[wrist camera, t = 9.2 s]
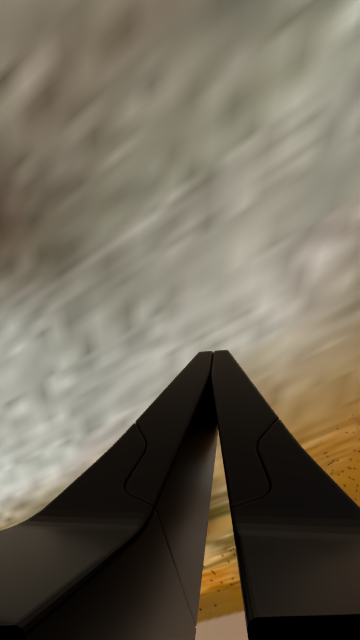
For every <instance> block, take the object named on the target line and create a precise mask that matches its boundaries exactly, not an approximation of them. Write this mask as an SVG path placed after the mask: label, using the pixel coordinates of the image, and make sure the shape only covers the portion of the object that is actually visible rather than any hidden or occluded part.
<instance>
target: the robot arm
mask: <svg viewBox="0 0 360 640" xmlns="http://www.w3.org/2000/svg"><path fill="white" fill-rule="evenodd" d="M135 423H136V424H135ZM135 423H134V424H133V425H132V426H131V427H130V428H129V429H128V430H127V431H126V432H125V433H124V434H123V435H122V436H121V437H120V439H119V440H118V441H117V442H116V443H115V444H114V445H113V446H112V447H111V448H110V449H109V450H108V451H107V452H105V453H104V454H103V455H102V456H101V457H100V458H99V459H98V460H97V461H96V462H95V463H94V464H93V465H92V466H90V467H89V468H88V469H87V470H86V471H85V472H84V473H83V474H82V475H80V476H79V477H78V478H77V479H76V480H75V481H74V482H73V483H72V484H71V485H69V486H68V487H67V488H66V489H65V490H64V491H63V492H62V493H61V494H59V495H58V496H57V497H56V498H55V499H54V500H53V501H52V502H51V503H49V504H48V505H47V506H46V507H45V508H43V509H42V510H41V511H39V512H38V513H37V514H35V515H34V516H32V517H31V518H29V519H27V520H26V521H24V522H22V523H19V524H17V525H15V526H13V527H10V528H7V529H4V530H1V531H0V640H195V634H196V628H195V626H196V624H197V615H198V606H199V597H200V588H201V579H202V570H203V561H204V552H205V543H206V534H207V525H208V516H209V507H210V499H211V490H212V481H213V472H214V463H215V454H216V445H217V435H218V431H219V437H220V444H221V451H222V458H223V464H224V471H225V478H226V485H227V491H228V498H229V505H230V511H231V518H232V525H233V532H234V539H235V546H236V553H237V561H238V568H239V575H240V582H241V590H242V597H243V604H244V612H245V619H246V626H247V633H248V639H249V640H360V507H359V506H358V505H357V504H356V503H355V502H354V501H353V500H352V499H351V498H350V497H349V496H348V495H347V494H346V493H345V492H344V491H343V490H342V489H341V488H340V487H339V485H338V484H337V483H336V482H335V481H334V480H333V479H332V478H331V477H330V476H329V475H328V474H327V473H326V472H325V471H324V470H323V469H322V468H321V467H320V466H319V465H318V464H317V463H316V462H315V461H314V460H313V459H312V458H311V456H310V455H309V454H308V453H307V452H306V451H305V450H304V449H303V448H302V447H301V446H300V444H299V443H298V442H297V441H296V439H295V438H294V437H293V436H292V434H291V433H290V432H289V431H288V429H287V428H286V427H285V425H284V424H283V423H282V421H281V420H279V418H278V416H277V415H276V414H275V412H274V411H273V410H272V408H271V407H270V406H269V404H268V403H267V402H266V400H265V399H264V398H263V396H262V395H261V394H260V392H259V391H258V390H257V388H256V387H255V386H254V384H253V383H252V382H251V380H250V379H249V378H248V376H247V375H246V374H245V372H244V371H243V370H242V368H241V367H240V366H239V364H238V363H237V362H236V360H235V359H234V358H233V356H232V355H231V353H230V352H229V351H228V350H219V351H214V353H213V352H212V351H205V352H199V353H198V354H197V355H196V356H195V357H194V358H193V359H192V360H191V361H190V362H189V364H188V365H187V366H186V367H185V368H184V369H183V370H182V371H181V372H180V373H179V375H178V376H177V377H176V378H175V379H174V380H173V381H172V382H171V383H170V384H169V385H168V387H167V388H166V389H165V390H164V391H163V392H162V393H161V394H160V395H159V396H158V397H157V399H156V400H155V401H154V402H153V403H152V404H151V405H150V406H149V407H148V408H147V409H146V411H145V412H144V413H143V414H142V415H141V416H140V417H139V418H138V419H137V420H136V422H135Z"/></svg>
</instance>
